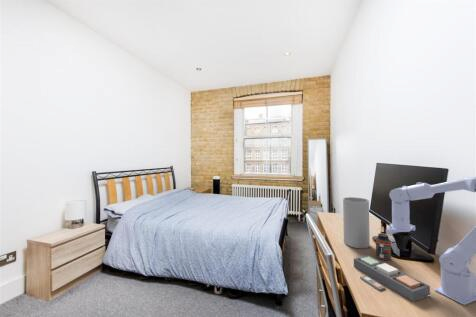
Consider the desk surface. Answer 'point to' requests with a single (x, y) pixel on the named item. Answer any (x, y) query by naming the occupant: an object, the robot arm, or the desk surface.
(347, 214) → the cylinder vase
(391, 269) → the white key
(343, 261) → the desk surface
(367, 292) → the desk surface
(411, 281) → the terracotta key
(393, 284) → the grey divided tray
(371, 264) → the sage key
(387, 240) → the supplement bottle
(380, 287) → the card
